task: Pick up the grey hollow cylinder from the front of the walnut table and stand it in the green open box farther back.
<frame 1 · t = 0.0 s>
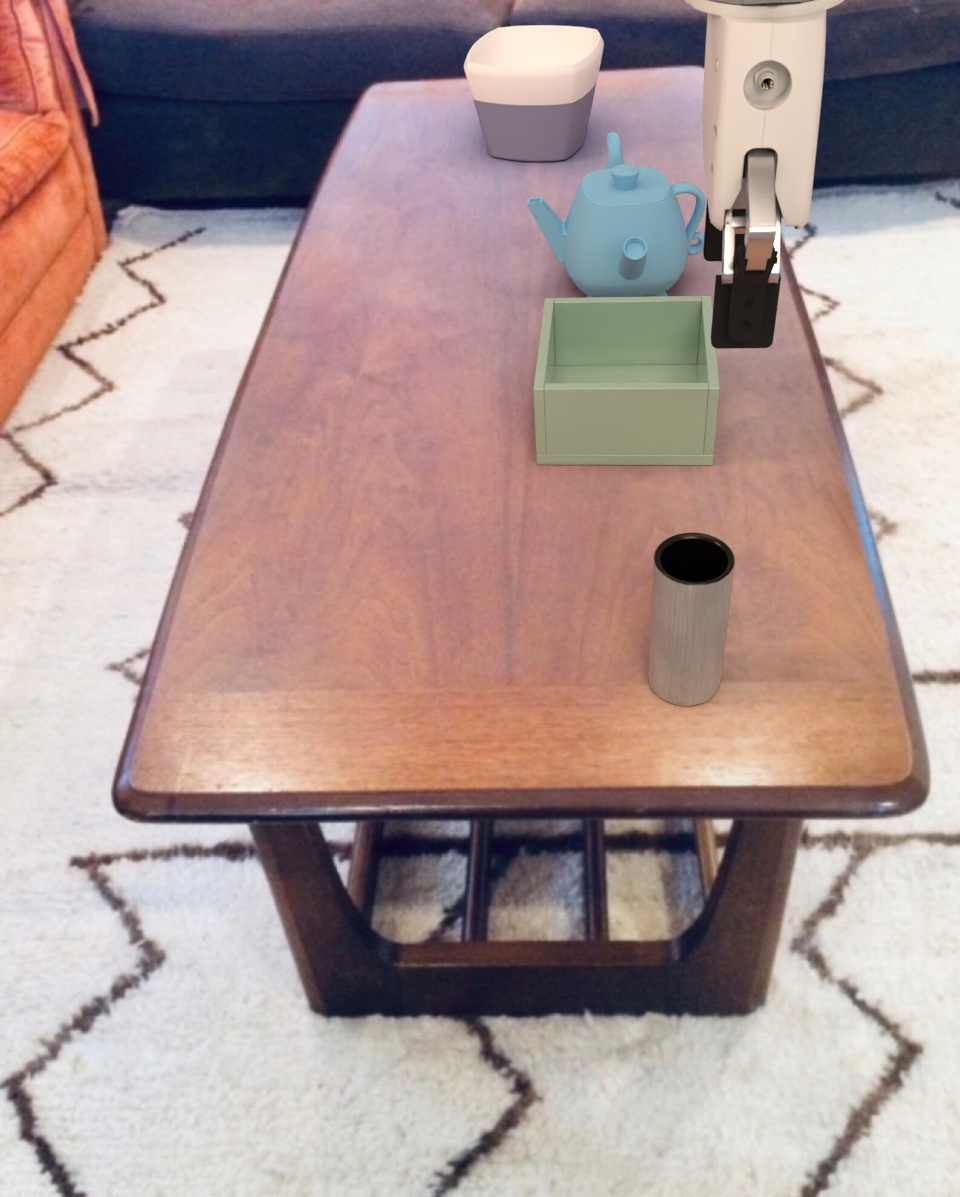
hand: (735, 299, 62), 21 cm above the table, tool pointing down, fingers open, 9 cm apart
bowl: (537, 145, 132), on the table
grey hollow cylinder: (684, 681, 69), on the table
green open box: (624, 415, 90), on the table
teapot: (616, 286, 106), on the table
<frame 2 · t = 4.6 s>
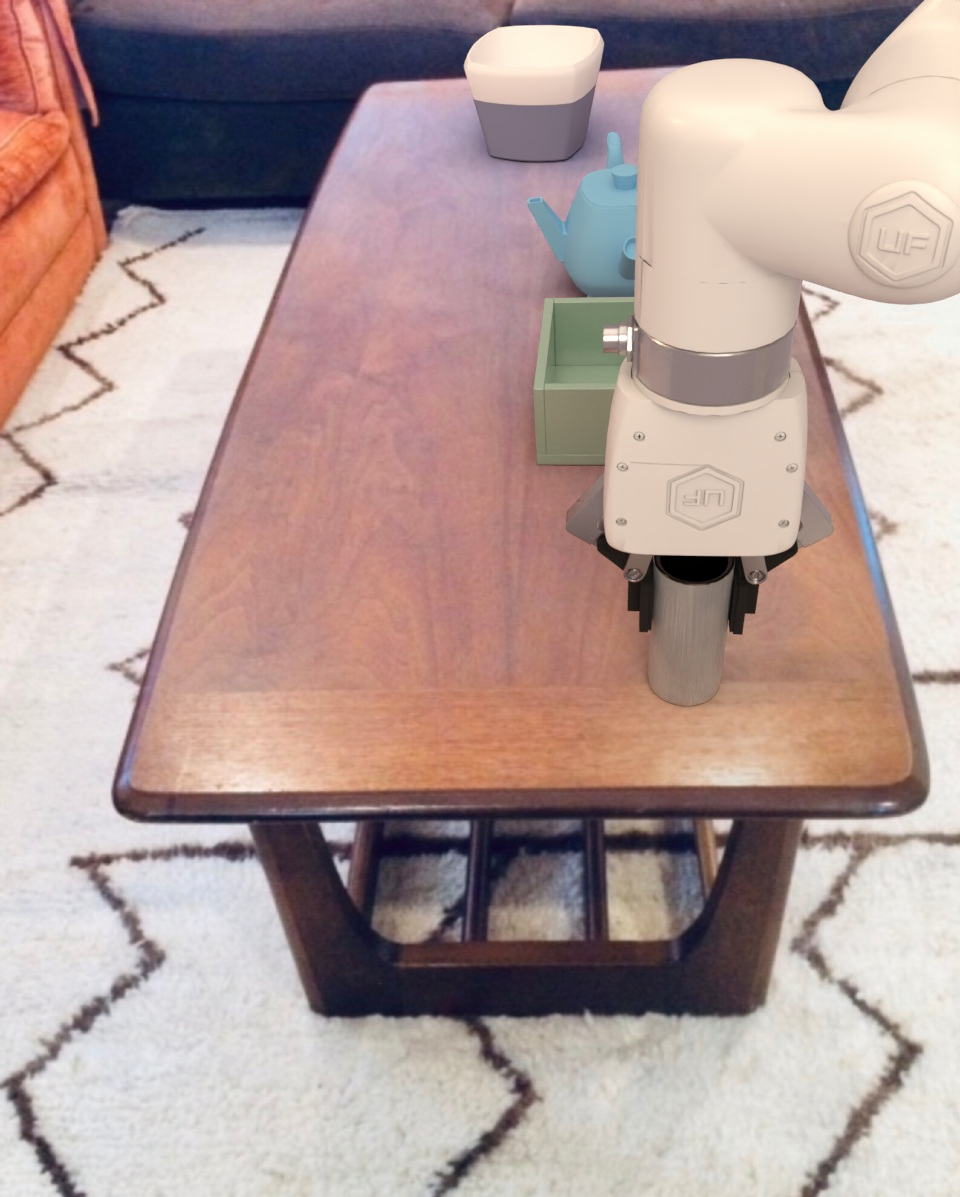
hand: (689, 614, 65), 6 cm above the table, tool pointing down, fingers closed on grey hollow cylinder, 4 cm apart
grey hollow cylinder: (684, 681, 69), on the table, touching gripper
everything else where it was.
when the fingers open (7 cm above the table, at t = 13.8 s): grey hollow cylinder stays where it is, resting on green open box.
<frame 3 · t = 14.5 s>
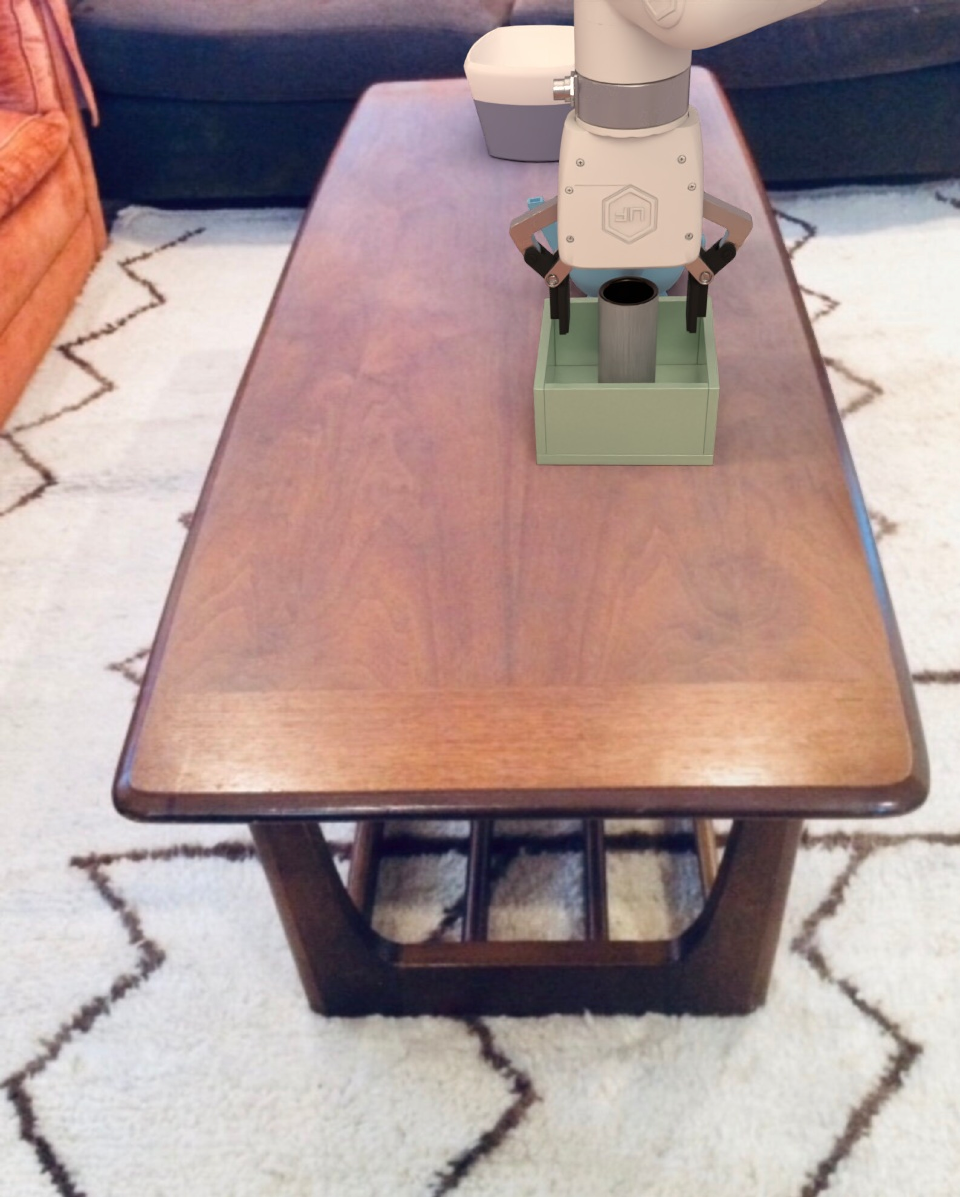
hand: (627, 325, 84), 8 cm above the table, tool pointing down, fingers open, 9 cm apart
grey hollow cylinder: (626, 407, 89), point 1 cm above the table, touching green open box
everything else where it was.
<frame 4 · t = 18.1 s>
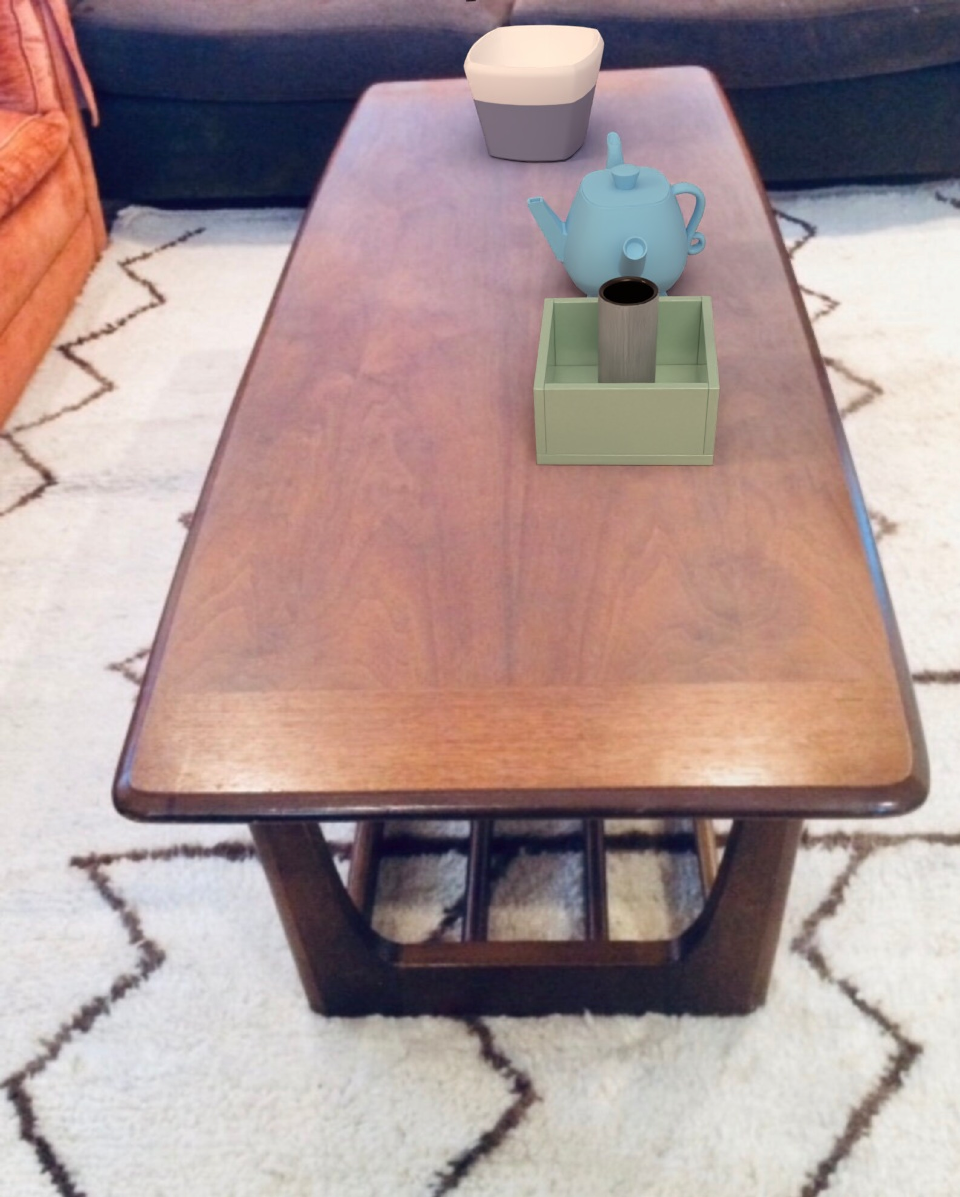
nothing on the table moved.
at the end: grey hollow cylinder inside the target area in the green open box (0.1 cm from its centre), point 0.8 cm above the green open box's base; grey hollow cylinder tilted 0° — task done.
